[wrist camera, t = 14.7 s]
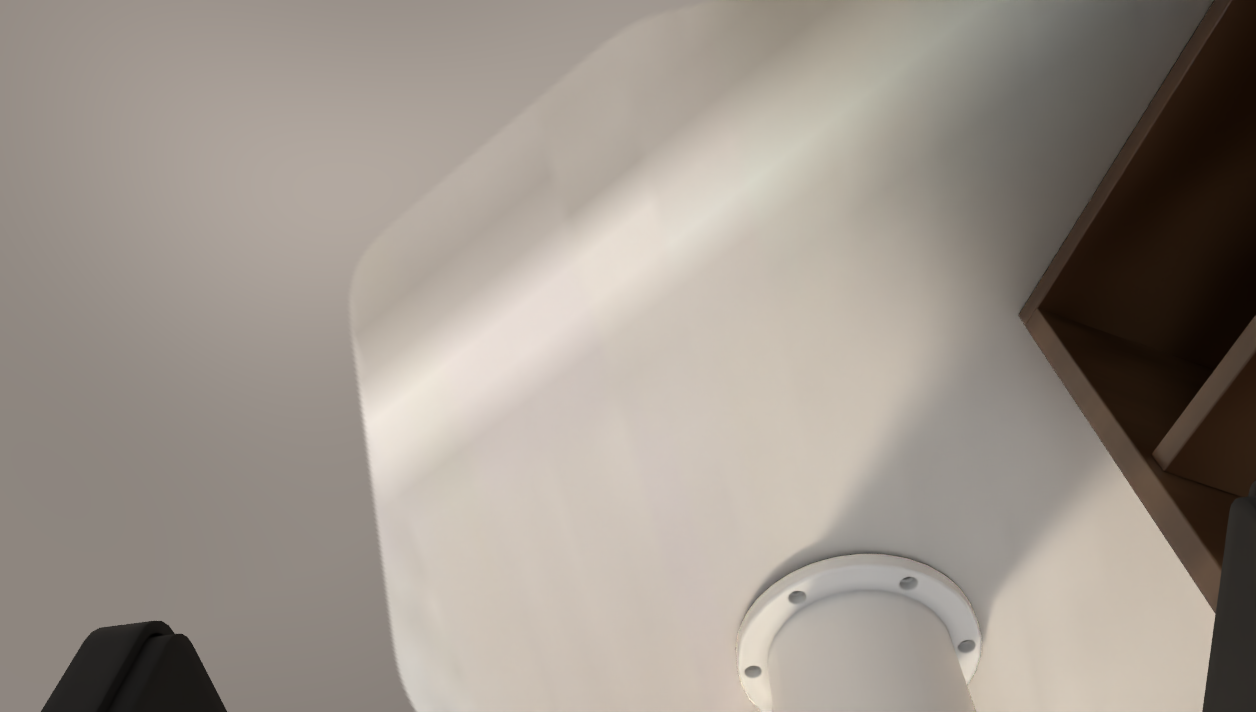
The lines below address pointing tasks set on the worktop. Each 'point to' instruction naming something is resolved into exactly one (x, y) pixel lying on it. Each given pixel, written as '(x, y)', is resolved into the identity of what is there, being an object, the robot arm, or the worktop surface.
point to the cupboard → (1171, 296)
